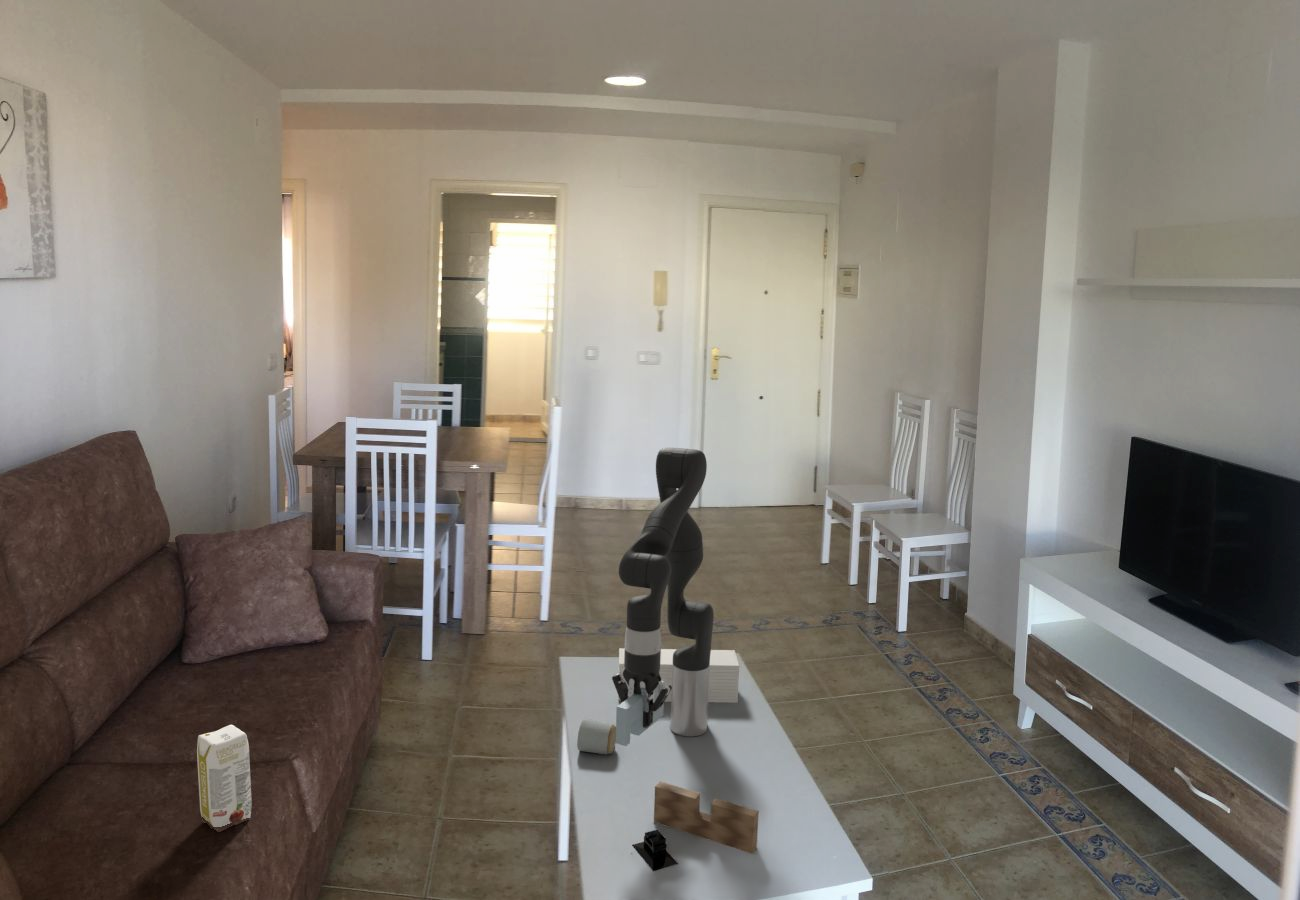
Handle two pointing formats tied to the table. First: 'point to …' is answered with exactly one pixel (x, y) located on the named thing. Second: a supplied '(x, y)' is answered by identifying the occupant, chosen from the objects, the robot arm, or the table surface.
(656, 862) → the black plastic bracket
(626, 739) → the blue grey block
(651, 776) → the table surface
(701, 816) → the brown wooden board
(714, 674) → the stack of papers
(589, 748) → the ceramic mug
